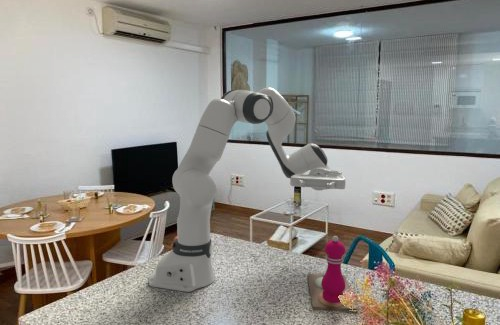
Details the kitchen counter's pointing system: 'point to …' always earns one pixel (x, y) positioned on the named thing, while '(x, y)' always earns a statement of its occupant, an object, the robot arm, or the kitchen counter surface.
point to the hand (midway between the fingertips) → (316, 185)
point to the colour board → (317, 295)
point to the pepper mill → (333, 271)
